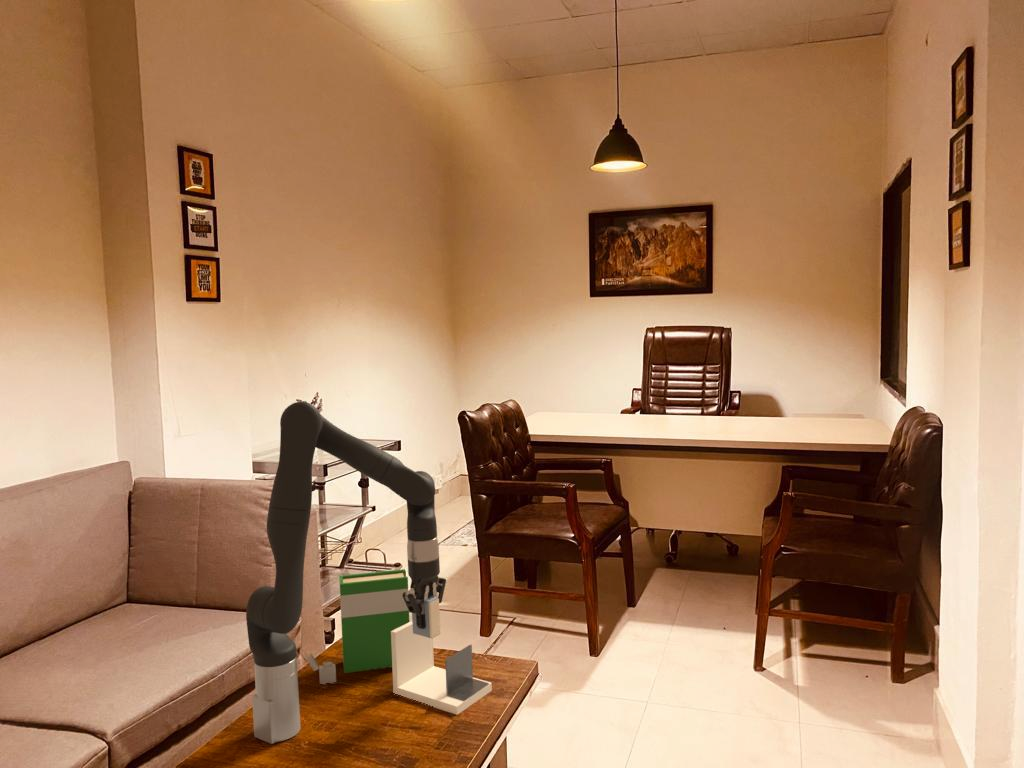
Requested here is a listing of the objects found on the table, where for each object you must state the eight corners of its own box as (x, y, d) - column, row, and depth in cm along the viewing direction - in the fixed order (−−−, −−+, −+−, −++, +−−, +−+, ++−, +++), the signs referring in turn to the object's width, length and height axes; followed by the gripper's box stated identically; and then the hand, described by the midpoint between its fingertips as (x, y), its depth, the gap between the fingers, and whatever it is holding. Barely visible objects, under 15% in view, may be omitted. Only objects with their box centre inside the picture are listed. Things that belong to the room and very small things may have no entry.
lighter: (336, 679, 205) (334, 649, 205) (336, 682, 204) (334, 652, 203) (307, 683, 204) (306, 653, 203) (307, 686, 202) (306, 656, 201)
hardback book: (408, 653, 220) (404, 569, 218) (411, 664, 213) (407, 577, 211) (343, 661, 216) (339, 575, 214) (344, 673, 209) (340, 584, 207)
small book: (432, 638, 188) (430, 602, 187) (412, 633, 192) (411, 597, 191) (440, 633, 191) (438, 597, 190) (421, 628, 194) (419, 593, 193)
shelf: (457, 714, 185) (455, 648, 184) (393, 694, 197) (390, 631, 195) (491, 690, 197) (490, 628, 196) (429, 672, 208) (427, 612, 207)
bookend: (464, 701, 188) (463, 664, 187) (446, 695, 191) (445, 659, 190) (489, 684, 196) (487, 649, 195) (471, 679, 199) (470, 644, 198)
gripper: (415, 566, 182) (419, 639, 183) (454, 550, 193) (457, 618, 195) (391, 561, 186) (395, 632, 188) (430, 545, 197) (433, 612, 199)
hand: (426, 625), depth 191 cm, fingers closed on small book, 3 cm apart
